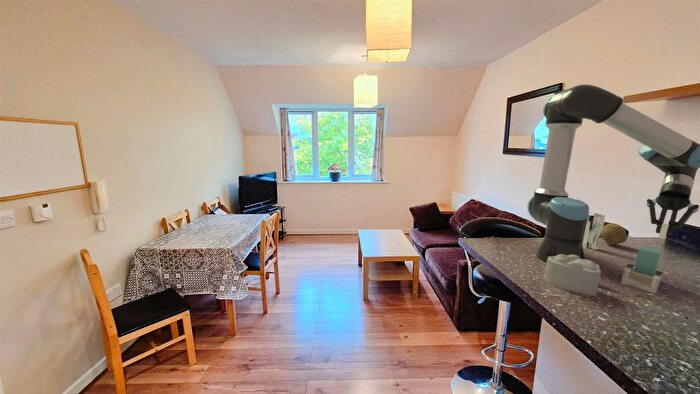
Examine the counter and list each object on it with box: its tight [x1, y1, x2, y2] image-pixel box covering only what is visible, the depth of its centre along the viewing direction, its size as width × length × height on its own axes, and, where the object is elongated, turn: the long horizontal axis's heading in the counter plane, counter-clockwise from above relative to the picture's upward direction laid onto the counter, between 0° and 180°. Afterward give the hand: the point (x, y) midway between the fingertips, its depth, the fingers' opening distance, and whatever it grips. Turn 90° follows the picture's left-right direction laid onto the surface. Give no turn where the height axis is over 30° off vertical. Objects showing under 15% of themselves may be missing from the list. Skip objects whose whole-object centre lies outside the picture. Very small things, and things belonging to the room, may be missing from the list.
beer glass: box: [583, 212, 606, 251], centre depth 122 cm, size 7×7×15 cm
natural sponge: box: [600, 222, 628, 246], centre depth 127 cm, size 9×9×10 cm
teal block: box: [633, 245, 662, 277], centre depth 91 cm, size 6×4×10 cm
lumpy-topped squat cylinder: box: [543, 254, 602, 296], centre depth 89 cm, size 10×13×9 cm
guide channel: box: [620, 263, 663, 294], centre depth 89 cm, size 16×10×6 cm, turn 128°
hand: (661, 240), depth 98 cm, fingers closed
